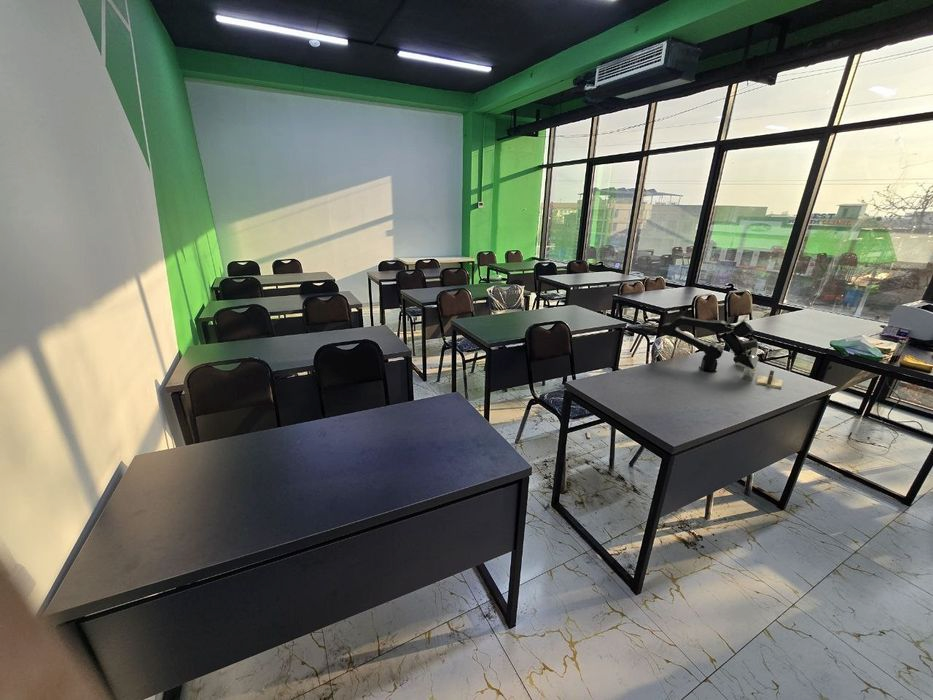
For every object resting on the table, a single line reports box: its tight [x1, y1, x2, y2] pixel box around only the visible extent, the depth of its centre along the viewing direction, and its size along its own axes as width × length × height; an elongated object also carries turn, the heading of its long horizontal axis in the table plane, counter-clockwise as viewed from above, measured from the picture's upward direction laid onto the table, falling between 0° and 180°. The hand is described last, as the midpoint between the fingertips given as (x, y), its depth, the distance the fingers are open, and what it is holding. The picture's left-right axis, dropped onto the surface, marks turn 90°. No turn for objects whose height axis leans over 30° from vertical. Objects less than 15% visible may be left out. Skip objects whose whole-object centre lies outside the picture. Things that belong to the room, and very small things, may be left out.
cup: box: [735, 346, 759, 368], centre depth 219 cm, size 8×8×12 cm
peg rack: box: [755, 369, 784, 390], centre depth 196 cm, size 10×10×5 cm
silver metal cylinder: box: [741, 355, 760, 381], centre depth 201 cm, size 5×5×12 cm
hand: (753, 367), depth 200 cm, fingers closed on silver metal cylinder, 5 cm apart
